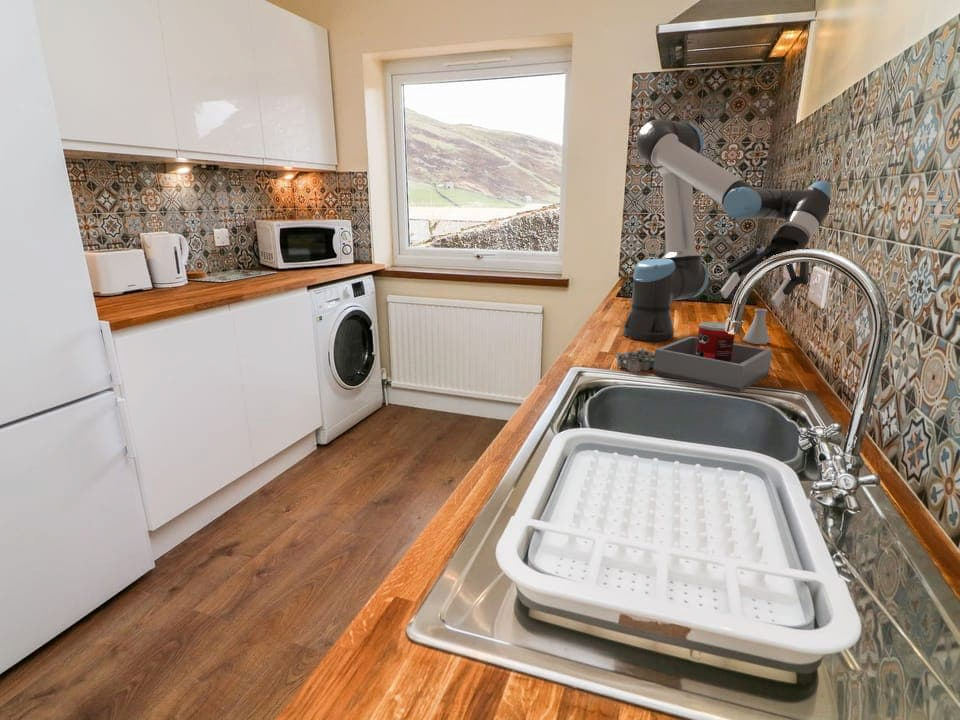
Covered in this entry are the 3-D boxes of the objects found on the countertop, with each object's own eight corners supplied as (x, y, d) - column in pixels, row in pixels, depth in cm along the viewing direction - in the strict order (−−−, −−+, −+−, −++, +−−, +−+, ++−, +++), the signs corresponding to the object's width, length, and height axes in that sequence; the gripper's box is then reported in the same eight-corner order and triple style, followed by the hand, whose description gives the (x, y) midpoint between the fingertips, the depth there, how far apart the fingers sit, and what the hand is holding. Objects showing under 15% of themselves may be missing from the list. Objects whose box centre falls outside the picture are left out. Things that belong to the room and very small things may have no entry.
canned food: (696, 363, 136) (701, 320, 133) (731, 368, 132) (737, 323, 129) (691, 370, 129) (696, 325, 126) (727, 376, 126) (734, 329, 123)
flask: (754, 345, 159) (759, 312, 156) (737, 340, 165) (742, 307, 163) (775, 344, 160) (780, 311, 158) (757, 339, 167) (762, 307, 164)
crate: (687, 358, 144) (690, 336, 143) (768, 373, 131) (772, 349, 130) (652, 373, 130) (655, 349, 129) (739, 392, 117) (743, 366, 116)
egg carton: (632, 374, 131) (633, 357, 130) (611, 366, 137) (612, 350, 136) (664, 368, 136) (665, 352, 135) (642, 361, 142) (644, 346, 141)
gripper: (851, 248, 127) (803, 317, 123) (753, 242, 147) (709, 300, 144) (843, 225, 123) (793, 296, 119) (743, 222, 143) (698, 282, 140)
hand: (747, 298), depth 132 cm, fingers open, 13 cm apart
